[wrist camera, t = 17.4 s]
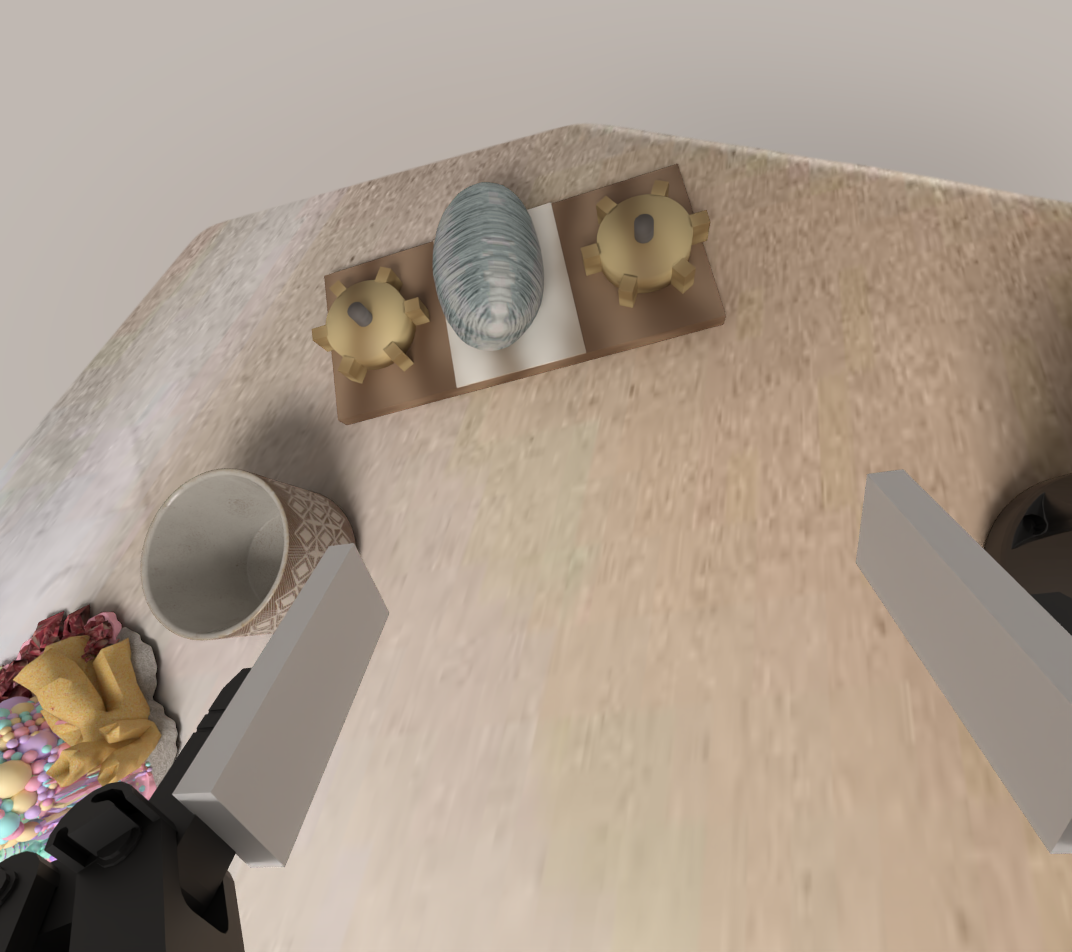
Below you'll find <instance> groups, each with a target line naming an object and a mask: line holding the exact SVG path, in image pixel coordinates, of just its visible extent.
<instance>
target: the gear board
mask: <svg viewBox="0 0 1072 952" xmlns="http://www.w3.org/2000/svg"><path fill="white" fill-rule="evenodd" d="M527 211H528V213H529V215H530V217H531V219H532V222H533V225H534V228H535V231H536V234H537V238H538V241H539V245H540V249H541V254H542V260H543V268H544V290H543V297H542V302H541V306H540V308H539V310H538V313H537V315H536V317H535V319H534V320H533V322H532V324H531V325H530V327H529V328H528V329H527V330H526V332H525V333H524V334H523V335H522V336H521V337H520V338H519V339H518V340H517V341H516V342H514V343H513V344H512V345H510V346H509V347H506V348H503V349H500V350H496V351H484V350H479V349H476V348H474V347H471V346H469V345H467V344H466V343H465V342H463V341H462V340H461V339H460V338H459V337H458V335H457V334H456V333H455V331H454V330H453V328H452V327H451V325H450V324H449V323H448V321H447V319H446V317H445V315H444V313H443V310H442V307H441V305H440V302H439V299H438V295H437V292H436V286H435V281H434V277H433V247H434V242H435V239H434V240H433V242H430V243H426V244H423V245H420V246H417V247H414V248H411V249H407V250H404V251H401V252H398V253H395V254H392V255H389V256H385V257H382V258H379V259H376V260H373V261H370V262H367V263H363V264H360V265H357V266H354V267H351V268H348V269H345V270H341V271H338V272H335V273H332V274H329V275H326V276H324V279H325V289H326V300H327V310H328V315H327V319H326V325H324V326H320V327H317V328H314V329H312V337H313V341H314V342H316V343H317V344H318V345H320V346H321V347H322V348H324V349H325V350H326V351H327V352H328V351H331V352H332V362H333V373H334V383H335V393H336V404H337V414H338V420H339V421H340V422H342V423H344V424H346V425H349V424H353V423H357V422H360V421H364V420H368V419H372V418H375V417H379V416H383V415H387V414H390V413H394V412H398V411H402V410H405V409H409V408H413V407H416V406H420V405H424V404H428V403H431V402H435V401H439V400H443V399H446V398H450V397H454V396H458V395H461V394H465V393H469V392H472V391H476V390H480V389H484V388H487V387H491V386H495V385H499V384H502V383H506V382H510V381H514V380H517V379H521V378H525V377H528V376H532V375H536V374H540V373H543V372H547V371H551V370H555V369H558V368H562V367H566V366H570V365H573V364H577V363H581V362H584V361H588V360H592V359H596V358H599V357H603V356H607V355H611V354H614V353H618V352H622V351H626V350H629V349H633V348H637V347H640V346H644V345H648V344H652V343H655V342H659V341H663V340H667V339H670V338H674V337H678V336H682V335H685V334H689V333H693V332H697V331H700V330H704V329H708V328H711V327H715V326H719V325H723V324H724V320H725V317H726V314H725V311H724V308H723V305H722V302H721V298H720V295H719V292H718V289H717V286H716V283H715V280H714V277H713V273H712V270H711V267H710V264H709V261H708V258H707V255H706V252H705V248H704V245H703V242H704V241H707V238H708V232H709V226H710V219H709V216H708V213H707V210H705V211H701V212H698V213H695V214H693V211H692V208H691V205H690V201H689V198H688V195H687V192H686V189H685V186H684V183H683V180H682V176H681V173H680V170H679V167H678V164H675V165H672V166H669V167H666V168H662V169H659V170H656V171H653V172H650V173H647V174H644V175H640V176H637V177H634V178H631V179H628V180H625V181H622V182H618V183H615V184H612V185H609V186H606V187H603V188H600V189H596V190H593V191H590V192H587V193H584V194H581V195H577V196H574V197H571V198H568V199H565V200H562V201H559V202H555V203H552V204H551V202H550V203H547V204H544V205H541V206H538V207H535V208H531V209H528V210H527Z"/></svg>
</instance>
